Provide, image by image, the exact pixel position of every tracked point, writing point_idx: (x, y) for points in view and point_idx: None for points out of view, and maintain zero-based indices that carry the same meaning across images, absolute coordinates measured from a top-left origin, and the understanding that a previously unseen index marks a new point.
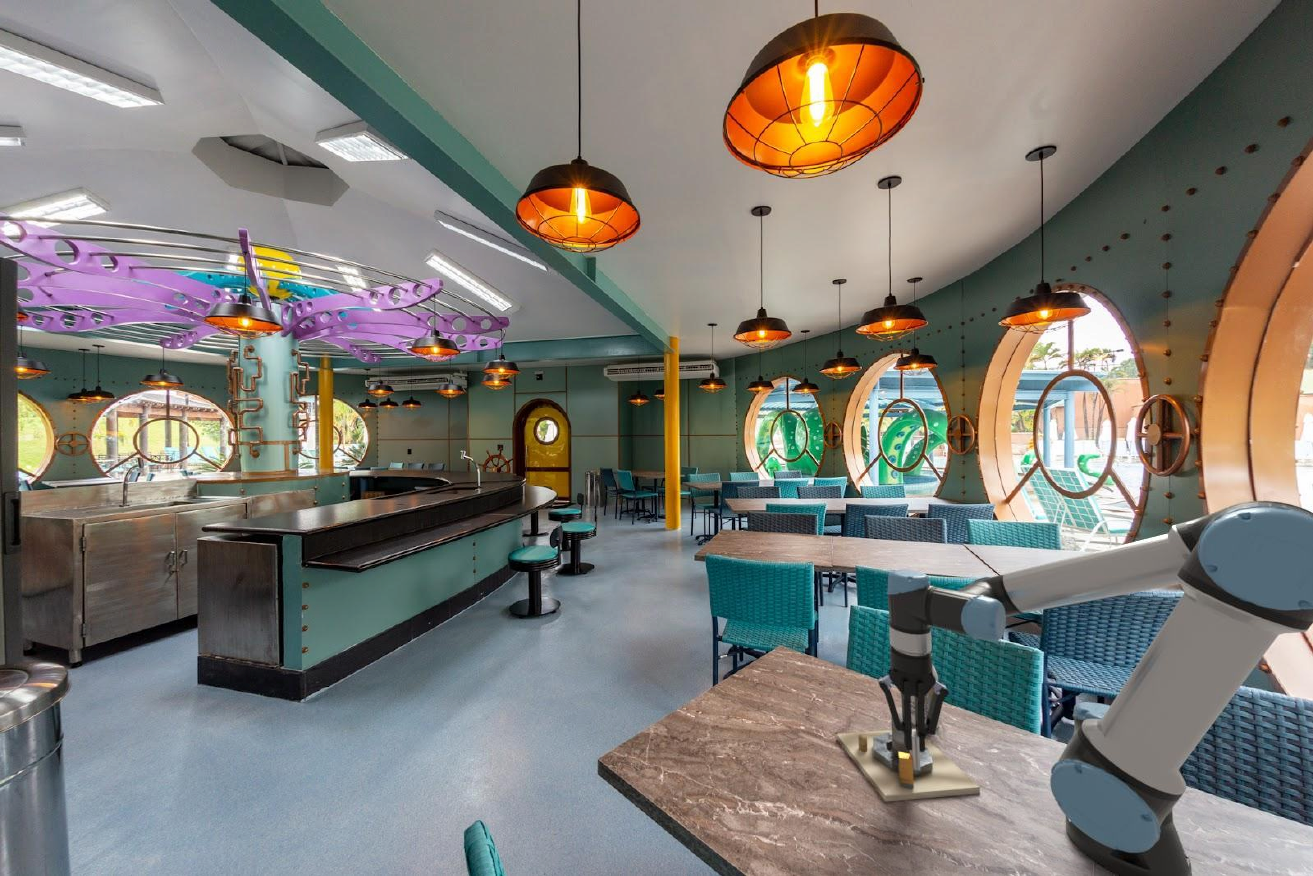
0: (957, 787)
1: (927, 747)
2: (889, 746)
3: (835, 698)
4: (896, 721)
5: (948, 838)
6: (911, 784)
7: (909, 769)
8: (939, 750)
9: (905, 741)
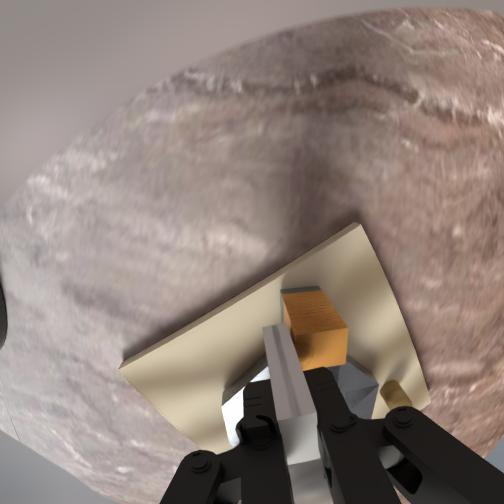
0: (162, 351)
1: None
2: None
3: None
4: (433, 441)
5: (195, 147)
6: (287, 294)
7: (301, 315)
8: None
9: (339, 389)
